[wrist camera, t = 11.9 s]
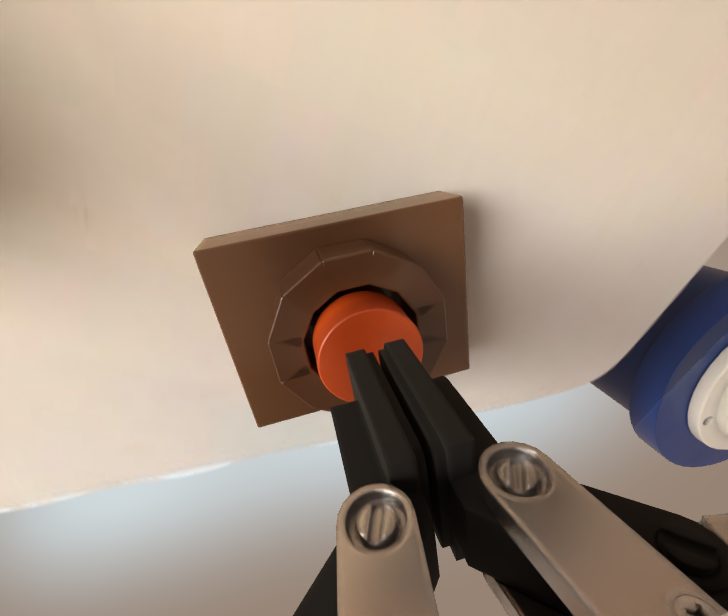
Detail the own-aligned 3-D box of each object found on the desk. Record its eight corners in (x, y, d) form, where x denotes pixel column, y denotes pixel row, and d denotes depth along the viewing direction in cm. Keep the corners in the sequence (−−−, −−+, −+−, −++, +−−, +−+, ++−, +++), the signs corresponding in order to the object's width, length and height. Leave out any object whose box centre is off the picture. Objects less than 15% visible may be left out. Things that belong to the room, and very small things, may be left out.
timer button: (401, 279, 13) (419, 297, 11) (411, 363, 14) (428, 388, 13) (302, 303, 12) (306, 324, 11) (323, 387, 14) (329, 416, 12)
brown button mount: (439, 190, 16) (489, 201, 12) (450, 346, 19) (490, 391, 15) (203, 238, 14) (178, 266, 11) (259, 397, 18) (256, 460, 14)
